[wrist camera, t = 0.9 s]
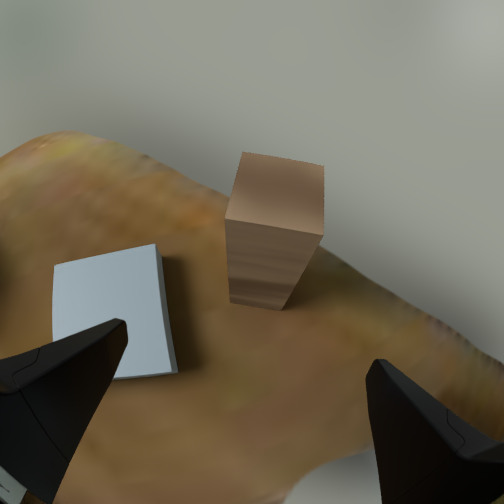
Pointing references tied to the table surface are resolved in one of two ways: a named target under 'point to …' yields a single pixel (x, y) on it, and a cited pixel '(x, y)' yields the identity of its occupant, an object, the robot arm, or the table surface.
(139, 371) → the slate base
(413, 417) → the robot arm
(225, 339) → the table surface
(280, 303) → the walnut block
